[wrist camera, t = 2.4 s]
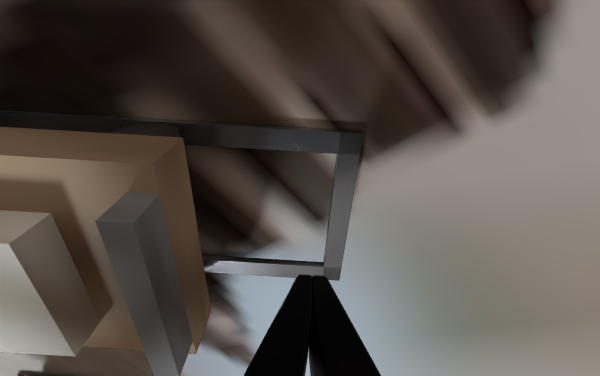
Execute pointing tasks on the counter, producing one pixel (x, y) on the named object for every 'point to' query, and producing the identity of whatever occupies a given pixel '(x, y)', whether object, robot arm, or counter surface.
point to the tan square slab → (100, 244)
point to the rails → (242, 137)
